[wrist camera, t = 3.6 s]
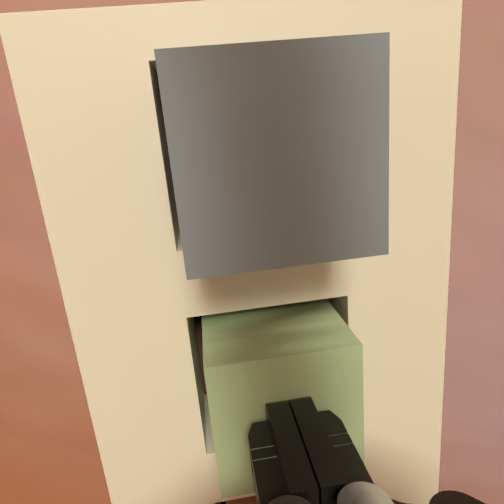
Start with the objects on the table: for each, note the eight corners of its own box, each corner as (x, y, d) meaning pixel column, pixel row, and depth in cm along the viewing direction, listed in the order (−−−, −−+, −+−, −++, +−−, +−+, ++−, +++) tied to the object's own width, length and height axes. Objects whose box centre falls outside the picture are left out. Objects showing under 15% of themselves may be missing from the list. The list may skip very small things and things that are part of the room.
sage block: (311, 280, 19) (362, 344, 13) (316, 376, 20) (364, 472, 14) (200, 294, 18) (203, 368, 13) (213, 392, 20) (221, 498, 14)
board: (402, 18, 17) (462, -16, 13) (396, 514, 24) (433, 585, 21) (44, 42, 16) (-5, 13, 12) (153, 561, 23) (145, 646, 19)
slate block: (313, 71, 15) (389, 31, 9) (319, 211, 16) (388, 254, 10) (170, 82, 14) (153, 49, 8) (189, 226, 16) (186, 280, 10)
